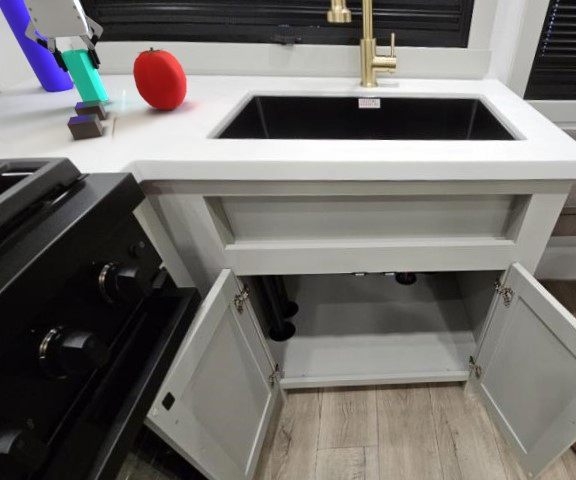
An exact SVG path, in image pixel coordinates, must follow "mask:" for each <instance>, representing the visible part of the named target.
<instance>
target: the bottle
mask: <svg viewBox="0 0 576 480" xmlns="http://www.w3.org/2000/svg"><path fill="white" fill-rule="evenodd" d="M0 10H1V13H2V14H3V15H2V16H3V17H4V19H5V21H6V22H7V24H8V26H9V28H10V30H11V32H12V34H13V35H14V38H15V40H16V42H17V43H18V45H19V47H20V49H21V51H22V52H23V54H24V56H25V59H26V60H27V62H28V64H29V65H30V67H31V69H32V71H33V73H34V74H35V77H36V78H37V80H38V82H39V83H40V85H41V87H42V88H43V90H44V91H45V92H47V93H48V92H49V93H57V92H65V91H69V90H71V89H73V88H74V82H73V79H72V77H71V75H70V73H69V71H68V72H64V71H63V69H62V68H59V66H58V64H57V62H56V60H55V58H54V56H53V54H52V53H51V52H49V50H47V49H46V48H44V47H42V46H41V45H39V44H38V43H37V42H35V41H33V40H32V39H30V38H28V37H27V36H26V35H25V31H26V29H27V26H28V24H29V21H30V19H31V17H30V15H29V13H28V10H27V8H26V5H25V3H24V0H0ZM35 34H36V35H37V36H39V37H40V38H43V39H44V40H46V41H47V38H46V37H43V36H41V35H40V34H39V33H38V32H37V30H35Z"/></svg>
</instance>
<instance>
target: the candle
mask: <svg viewBox="0 0 576 480" xmlns="http://www.w3.org/2000/svg"><path fill="white" fill-rule="evenodd" d="M70 46H71V49H70V50H66V51H63V52H61V53H62V54H61V56H62V58H63V60H64V62H65V64H66V67H67V69H68V73H69V75H70V78H71V80H72V82H73V84H74V86H75V88H76V90H77V92H78V94H79V96H80V98H81V100H82V102H84V101H93V100H101V102H102V103H103V102H105V101H107V100H108V99H109V96H108V94H107V91H106V89H105V87H104V84H103V82H102V79H101V77H100V75H99V72H98V69H95V68H94V65H93V63H92V61H91V58H90V56H89V53H88V49H85V48H80V49H74V47H73V44H70Z"/></svg>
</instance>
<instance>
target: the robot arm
mask: <svg viewBox="0 0 576 480" xmlns="http://www.w3.org/2000/svg"><path fill="white" fill-rule="evenodd" d="M24 3H25V5H26V8H27V10H28V13H29V15H30V17H31V19H30V21H29V24H28V26H27V29H26V31H25V35H26V36H27V37H28V38H30V39H32V40H33V41H35V42H37V43H38V44H39V45H41V46H42V47H44V48H46V49H47V50H49V52H51V53H52V54H53V56H54V58H55V60H56V62H57V64H58V66H59V68H62V69H63V71H64V72H68V73H69V71H68V69H67V67H66V64H65V62H64V60H63V58H62V56H61V54H62V53H63V52H62V51H61V50H59V49H58V47H57V38H67V37H68V38H69V37H79V39H81V41H82V42H83V43H84V44H85V45H86V48H87V50H88V53H89V56H90V58H91V61H92V63H93V65H94V68H95V69H96V70H99V69H100V65H101V60H100V57H99V55H98V53H97V50H96V46H97V43H98V42H99V39H100V38H101V35H102V34H103V32H104V28H103V27H102V26H101V25H100V24H98V23H97V22H95V21H94V20H93V19H92V18H91V17H89V16H87V15H86V14H85V11H84V9H83V7H82V5H81V3H80V1H79V0H24ZM91 28H92V29H93V34H92V36H91V37H90V36H89V35H88V33H89V32H90V31H91ZM35 30H37V32H38V33H39V34H40V35H41V36H43V37H46V38H47V41H46V40H44V39H43V38H40V37H39V36H37V35H36V34H35Z"/></svg>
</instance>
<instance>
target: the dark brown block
mask: <svg viewBox="0 0 576 480" xmlns="http://www.w3.org/2000/svg"><path fill="white" fill-rule="evenodd" d="M73 109H74V111H75V114H76V116H82V115H90V114H97V115H98V118H99V120H100V121H105V120H106V118H107V111H106V108H105V107H104V104H103V101H102V102H101V100H93V101H84V102H83V101H77V102H76V103H75V105H74V108H73Z"/></svg>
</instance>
